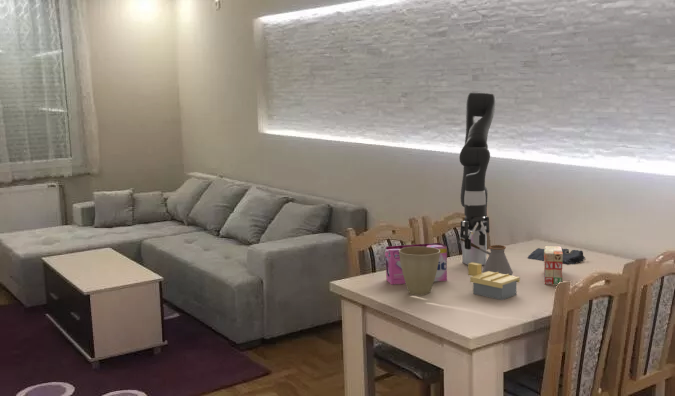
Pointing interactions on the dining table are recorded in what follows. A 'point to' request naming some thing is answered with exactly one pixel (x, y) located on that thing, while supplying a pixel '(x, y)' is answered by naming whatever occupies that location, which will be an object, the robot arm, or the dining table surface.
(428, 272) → the plant pot
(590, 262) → the dining table surface
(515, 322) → the dining table surface
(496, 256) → the coffee pot
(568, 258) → the dark crumpled cloth
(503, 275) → the lid
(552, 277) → the stack of blocks
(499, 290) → the tub
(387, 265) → the gum box
